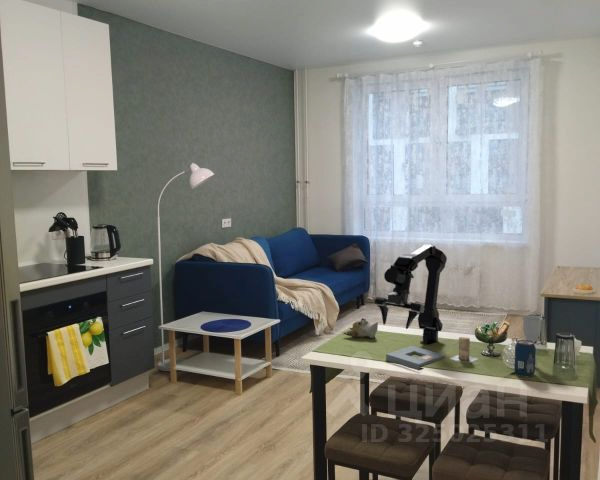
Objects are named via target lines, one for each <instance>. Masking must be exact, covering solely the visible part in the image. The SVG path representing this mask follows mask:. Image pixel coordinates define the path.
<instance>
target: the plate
mask: <svg viewBox="0 0 600 480" xmlns="http://www.w3.org/2000/svg"><path fill="white" fill-rule="evenodd" d="M449 360H452V361H456V362H460V363H463V364H466V365H467V364H469V363H472V362H476V361H477V360H479V358H477V357H473V356H470V355H469V360H460V359H459V354H457V355H455V356H452V357H449Z"/></svg>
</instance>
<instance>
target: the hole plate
mask: <svg viewBox="0 0 600 480" xmlns="http://www.w3.org/2000/svg"><path fill="white" fill-rule="evenodd" d="M411 355H417V356H418V357H415V356H411ZM445 356H446V355H445V354H443V353H439V352H437V351H432V350H430V349H429V350H428V349H425V348H422V347H418V346H414V345H410V346H407V347H403V348H401V349H398V350H397V349H396V350H395V351H391V352H389V353H386V354H385V361H386V362H390V363H394V364H397V365H400V366H404V367H406V368H409V369H413V370H415V371H419V372H420V371H421V370H423V369H424V370H425V367H424V368H423V367H422V366H425V365H428V364H431V363H433V362H436V361H439V360H441V359H444V358H446V357H445Z"/></svg>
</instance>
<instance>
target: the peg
mask: <svg viewBox="0 0 600 480" xmlns="http://www.w3.org/2000/svg"><path fill="white" fill-rule="evenodd" d="M470 339H471V338H470V337H466V336H460V337H458V355H459V359H460V360H469V356H470V353H471V352H470V351H471V349H470V347H471V346H470V343H471V342H470V341H471V340H470Z"/></svg>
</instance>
